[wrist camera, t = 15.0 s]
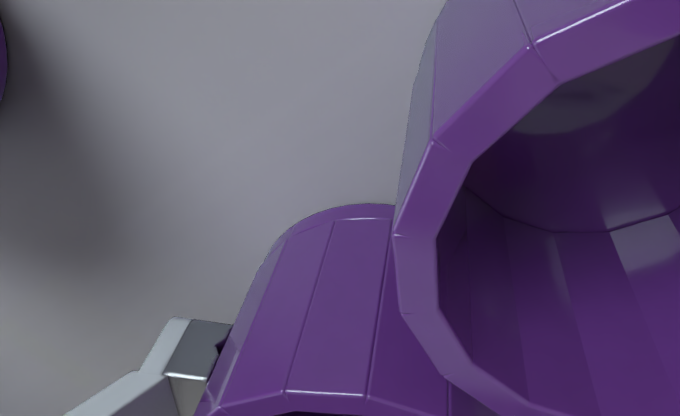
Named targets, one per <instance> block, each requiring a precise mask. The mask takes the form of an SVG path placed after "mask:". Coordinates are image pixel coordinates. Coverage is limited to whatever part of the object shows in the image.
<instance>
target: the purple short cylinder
mask: <svg viewBox="0 0 680 416" xmlns="http://www.w3.org/2000/svg"><path fill="white" fill-rule="evenodd" d="M7 71H8V60H7V47H6V41H5V36H4V30H3V27H2V23H1V20H0V101H1V99H2V97H3V93H4V90H5V86H6V81H7Z"/></svg>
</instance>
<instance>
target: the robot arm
mask: <svg viewBox="0 0 680 416" xmlns="http://www.w3.org/2000/svg"><path fill="white" fill-rule="evenodd" d="M232 327H233V325H230V324H223V323H217V322H210V321H204V320H197V319H189V318H182V317H175V316H174V317H172V318H171V319H170V320H169V321H168V322H167V324H166V325H165V327H164V329H163V330H162V332H161V334H160V335H159V337H158V339H157V340H156V342H155V344H154V346H153V347H152V349H151V351H150V352H149V354H148V356H147V357H146V359H145V361H144V362H143V364H142V366H141V368H140V369H139V371H131V372H129V373H128V374H126V375H125V376H123V377H122V378H120V379H119V380H117V381H116V382H114V383H112V384H111V385H109V386H108V387H106V388H105V389H103V390H102V391H100V392H98V393H97V394H95V395H94V396H92V397H91V398H89V399H88V400H86V401H84V402H83V403H81V404H80V405H78V406H77V407H75V408H74V409H72V410H71V411H69V412H67V413H66V414H64V415H63V416H193V415H194V413H195V411H196V408H197V406H198V404H199V402H200V399H201V397H202V395H203V393H204V390H205V388H206V386H207V384H208V381H209V379H210V377H211V375H212V372H213V370H214V368H215V366H216V363H217V361H218V359H219V357H220V354H221V352H222V350H223V348H224V345H225V343H226V341H227V339H228V336H229V334H230V332H231V330H232Z"/></svg>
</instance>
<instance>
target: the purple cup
mask: <svg viewBox="0 0 680 416" xmlns="http://www.w3.org/2000/svg"><path fill="white" fill-rule="evenodd" d="M394 212H395V205H388V204H370V203H366V204H353V205H345V206H340V207H335V208H331V209H328V210H325V211H322V212H318V213H316V214H314V215H312V216H309V217H307V218H305V219H303V220H301V221H300V222H298V223H297V224H295V225H294V226H292V227H291V228H289V229H288V230H287V231H286V232H285V233H284V234H283V235H282V236H280V237H279V239H278V240H277V241H276V242H275V244H274V245H273V246H272V247H271V249H270V251H269V253H268V254H267V256H266V258H265V260H264V262H263V264H262V265H261V266H260V267H259V270H258V271H257V273H256V276H255V278H254V280H253V282H252V285H251V287H250V289H249V291H248V294H247V296H246V298H245V300H244V303H243V305H242V307H241V309H240V312H239V314H238V316H237V318H236V321H235V323H234V325H233V327H232V330H231V332H230V334H229V336H228V339H227V341H226V343H225V345H224V348H223V350H222V352H221V354H220V357H219V359H218V361H217V363H216V366H215V368H214V370H213V372H212V375H211V377H210V379H209V381H208V384H207V386H206V388H205V390H204V393H203V395H202V397H201V399H200V402H199V404H198V406H197V408H196V411H195V413H194V415H193V416H499V415H497V414H496V413H494V412H493V411H492V410H490V409H489V408H487V407H486V406H484V405H483V404H481V403H480V402H478V401H477V400H475V399H474V398H472V397H471V396H469V395H468V394H466V393H465V392H463V391H462V390H460V389H459V388H457V387H456V386H455V385H453V384H452V383H450V382H449V381H447V380H446V379H445V378H444V377H443V375H440V374H439V372H438V371H437V369H436V368H435V366H434V365H433V363H432V362H431V360H430V359H429V357H428V356H427V354H426V353H425V351H424V350H423V348H422V347H421V345H420V344H419V342H418V341H417V339H416V338H415V336H414V335H413V333H412V332H411V330H410V329H409V327H408V326H407V324H406V323H405V321H404V320H403V318H402V316H401V313H400V311H399V309H398V300H397V290H396V280H395V270H394V260H393V250H392V240H391V233H392V226H393V219H394Z"/></svg>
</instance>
